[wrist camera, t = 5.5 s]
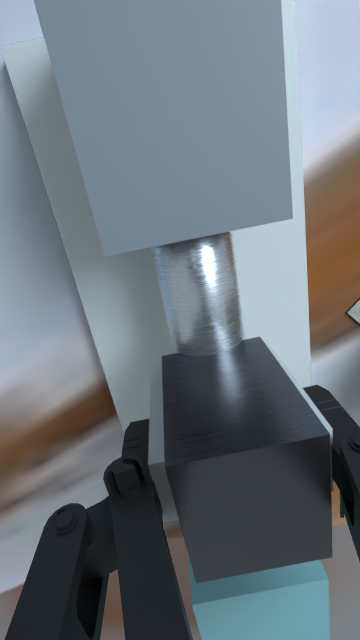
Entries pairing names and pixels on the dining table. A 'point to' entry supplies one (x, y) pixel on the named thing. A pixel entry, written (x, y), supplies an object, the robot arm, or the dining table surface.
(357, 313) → the condiment
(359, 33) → the dining table surface
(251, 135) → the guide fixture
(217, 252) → the tube
